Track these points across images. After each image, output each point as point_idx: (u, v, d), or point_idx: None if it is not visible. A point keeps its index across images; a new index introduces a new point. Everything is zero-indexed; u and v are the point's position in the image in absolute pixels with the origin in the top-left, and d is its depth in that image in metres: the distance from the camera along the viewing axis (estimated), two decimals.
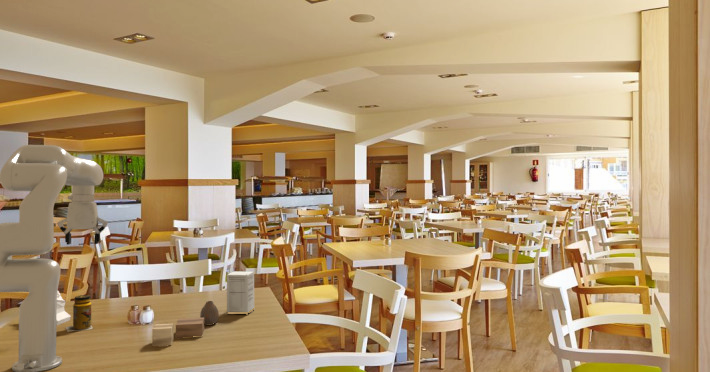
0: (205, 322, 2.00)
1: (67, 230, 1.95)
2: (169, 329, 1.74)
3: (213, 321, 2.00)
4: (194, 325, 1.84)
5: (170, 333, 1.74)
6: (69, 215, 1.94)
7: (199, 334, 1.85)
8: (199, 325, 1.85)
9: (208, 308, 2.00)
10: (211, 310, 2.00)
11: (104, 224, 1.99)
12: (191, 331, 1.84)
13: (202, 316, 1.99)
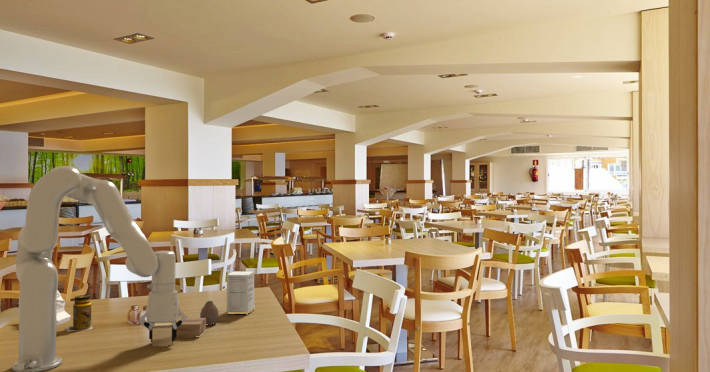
0: None
1: (151, 326, 1.75)
2: (169, 329, 1.74)
3: (213, 321, 2.00)
4: (192, 325, 1.84)
5: (170, 333, 1.74)
6: (149, 307, 1.73)
7: (197, 335, 1.84)
8: (197, 325, 1.84)
9: (208, 308, 2.00)
10: (211, 310, 2.00)
11: (183, 319, 1.78)
12: (189, 332, 1.84)
13: (202, 316, 1.99)
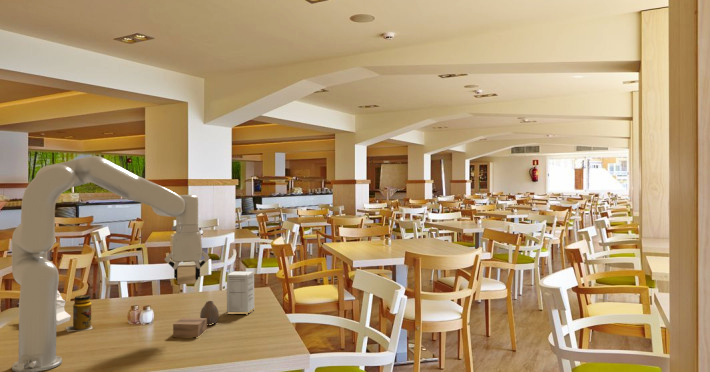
0: None
1: (176, 265, 1.85)
2: (193, 267, 1.84)
3: (213, 321, 2.00)
4: (190, 325, 1.84)
5: (194, 271, 1.84)
6: (174, 247, 1.83)
7: (195, 335, 1.84)
8: (195, 326, 1.84)
9: (208, 308, 2.00)
10: (211, 310, 2.00)
11: (206, 259, 1.87)
12: (187, 332, 1.84)
13: (202, 316, 1.99)
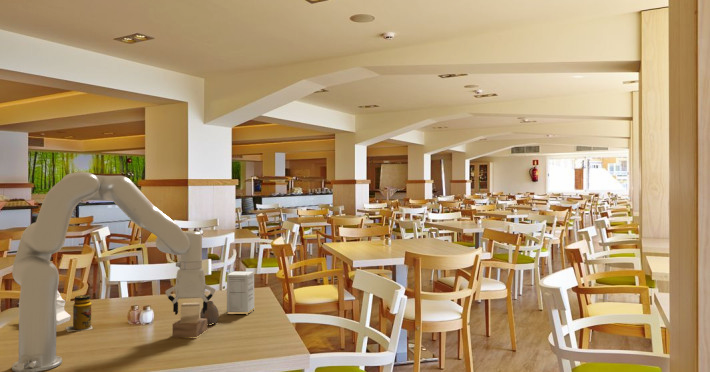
0: None
1: (175, 299, 1.86)
2: (196, 307, 1.86)
3: (213, 321, 2.00)
4: (189, 326, 1.84)
5: (197, 311, 1.86)
6: (178, 284, 1.85)
7: (194, 335, 1.83)
8: (194, 326, 1.83)
9: (208, 308, 2.00)
10: (211, 310, 2.00)
11: (212, 292, 1.89)
12: (186, 332, 1.84)
13: (202, 316, 1.99)
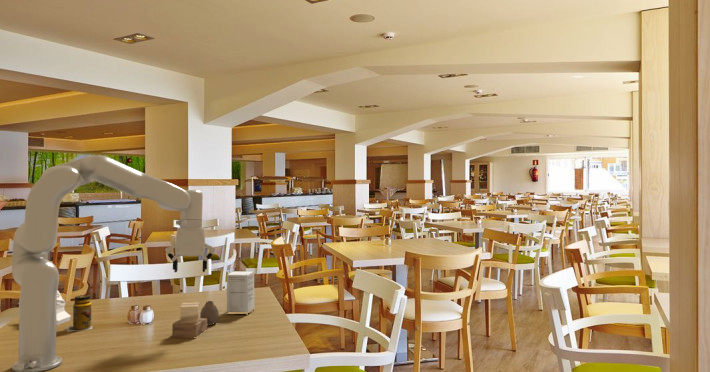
0: None
1: (175, 257, 1.86)
2: (196, 307, 1.86)
3: (213, 321, 2.00)
4: (189, 326, 1.84)
5: (197, 311, 1.86)
6: (178, 241, 1.85)
7: (193, 335, 1.83)
8: (193, 326, 1.83)
9: (208, 308, 2.00)
10: (211, 310, 2.00)
11: (212, 251, 1.89)
12: (186, 332, 1.84)
13: (202, 316, 1.99)
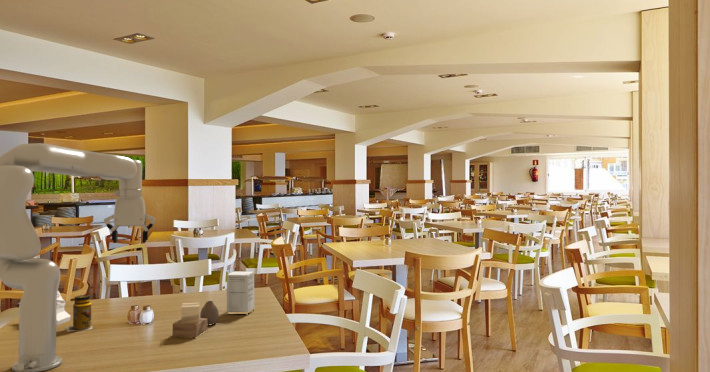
0: None
1: (114, 227, 1.83)
2: (197, 307, 1.86)
3: (213, 321, 2.00)
4: (189, 325, 1.84)
5: (198, 311, 1.86)
6: (116, 211, 1.82)
7: (194, 335, 1.84)
8: (194, 326, 1.84)
9: (208, 308, 2.00)
10: (211, 310, 2.00)
11: (152, 221, 1.87)
12: (186, 332, 1.84)
13: (202, 316, 1.99)
